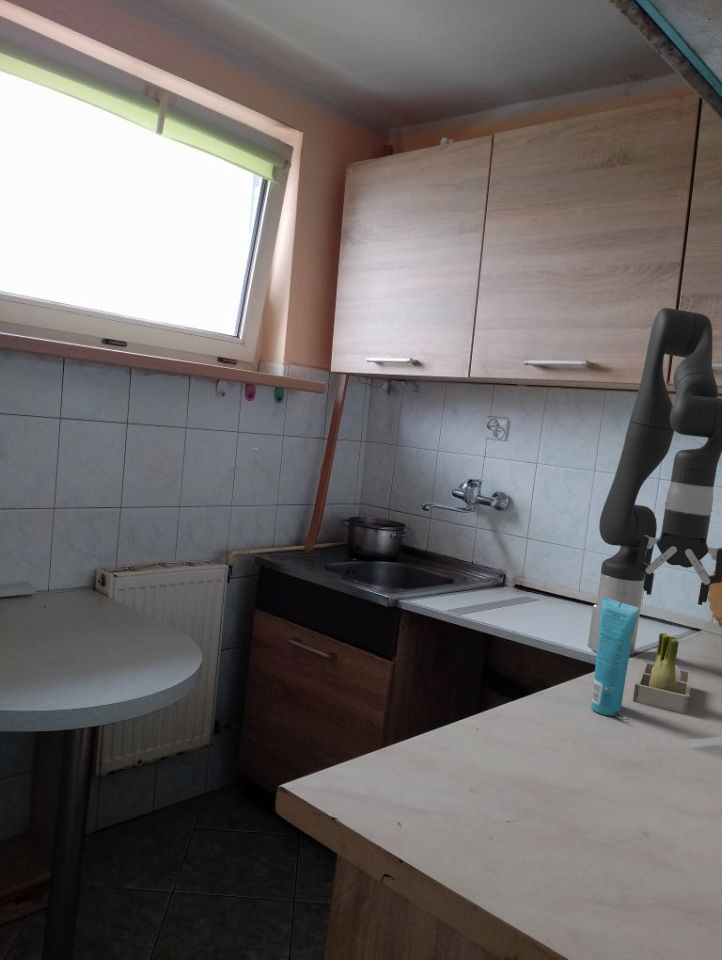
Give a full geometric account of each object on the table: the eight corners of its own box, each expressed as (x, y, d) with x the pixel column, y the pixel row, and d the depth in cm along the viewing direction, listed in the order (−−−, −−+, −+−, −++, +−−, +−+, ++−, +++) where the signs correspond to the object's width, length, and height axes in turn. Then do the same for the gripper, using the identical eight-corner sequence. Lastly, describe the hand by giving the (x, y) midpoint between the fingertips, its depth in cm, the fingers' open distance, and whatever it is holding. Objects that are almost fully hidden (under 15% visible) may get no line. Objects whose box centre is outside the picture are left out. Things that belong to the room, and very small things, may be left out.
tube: (631, 716, 129) (647, 606, 128) (616, 721, 126) (631, 608, 125) (594, 701, 135) (608, 595, 133) (578, 705, 132) (592, 597, 130)
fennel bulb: (647, 692, 140) (656, 629, 139) (675, 698, 138) (685, 634, 137) (646, 701, 135) (656, 636, 134) (676, 708, 133) (686, 641, 132)
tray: (641, 681, 150) (643, 661, 150) (689, 692, 146) (692, 672, 146) (632, 706, 134) (635, 684, 134) (686, 719, 131) (689, 697, 130)
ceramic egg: (643, 683, 145) (647, 657, 145) (663, 682, 147) (667, 656, 147) (664, 693, 140) (668, 666, 140) (685, 692, 143) (689, 665, 142)
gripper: (732, 514, 134) (717, 603, 135) (647, 502, 140) (634, 587, 142) (732, 517, 127) (717, 611, 129) (643, 504, 133) (629, 594, 135)
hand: (673, 599), depth 135 cm, fingers open, 8 cm apart
